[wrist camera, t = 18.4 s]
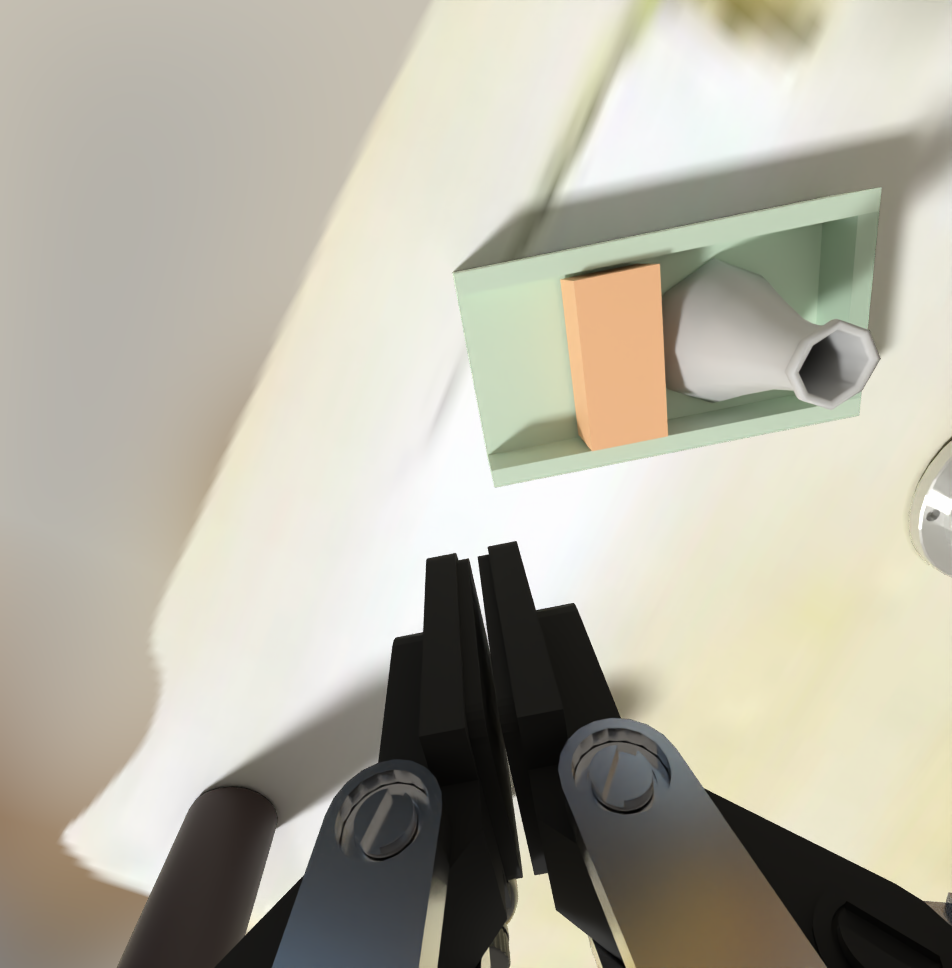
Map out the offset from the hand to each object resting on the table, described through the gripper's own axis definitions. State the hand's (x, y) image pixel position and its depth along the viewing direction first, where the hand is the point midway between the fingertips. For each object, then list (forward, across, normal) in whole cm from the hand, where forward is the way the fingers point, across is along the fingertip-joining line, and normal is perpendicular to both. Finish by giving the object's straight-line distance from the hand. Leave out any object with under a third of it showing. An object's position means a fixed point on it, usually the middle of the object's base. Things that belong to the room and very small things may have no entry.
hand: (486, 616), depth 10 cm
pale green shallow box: (+22, -11, 0) cm, 25 cm away
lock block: (+21, -8, 0) cm, 22 cm away
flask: (+21, -14, 0) cm, 25 cm away
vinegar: (+22, +24, +30) cm, 45 cm away
